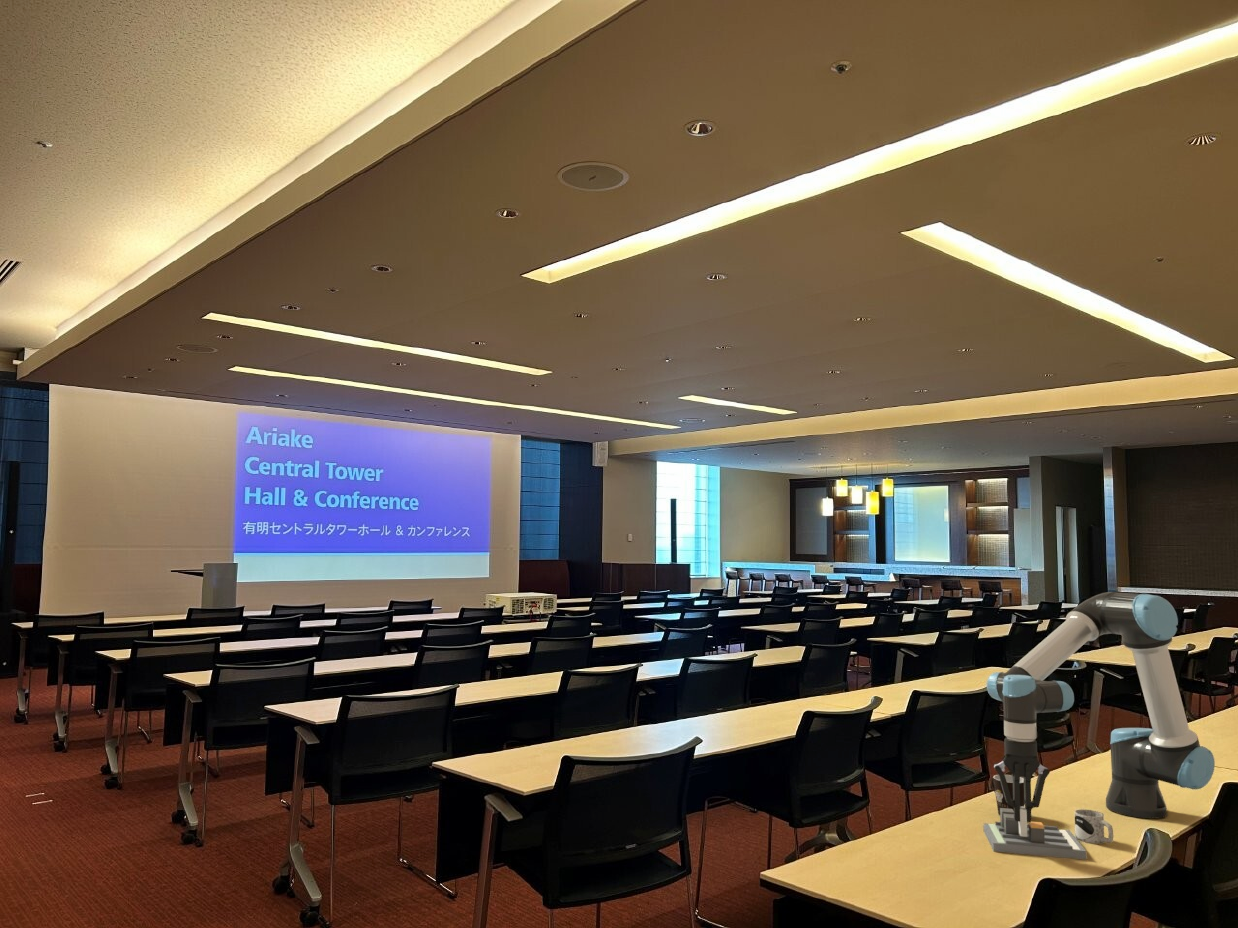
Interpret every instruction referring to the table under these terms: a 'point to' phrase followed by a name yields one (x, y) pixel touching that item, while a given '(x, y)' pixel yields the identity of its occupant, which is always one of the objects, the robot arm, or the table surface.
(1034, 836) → the block
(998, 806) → the coffee mug
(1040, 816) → the table surface
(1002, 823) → the block
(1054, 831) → the panel
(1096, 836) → the mug
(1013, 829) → the block
